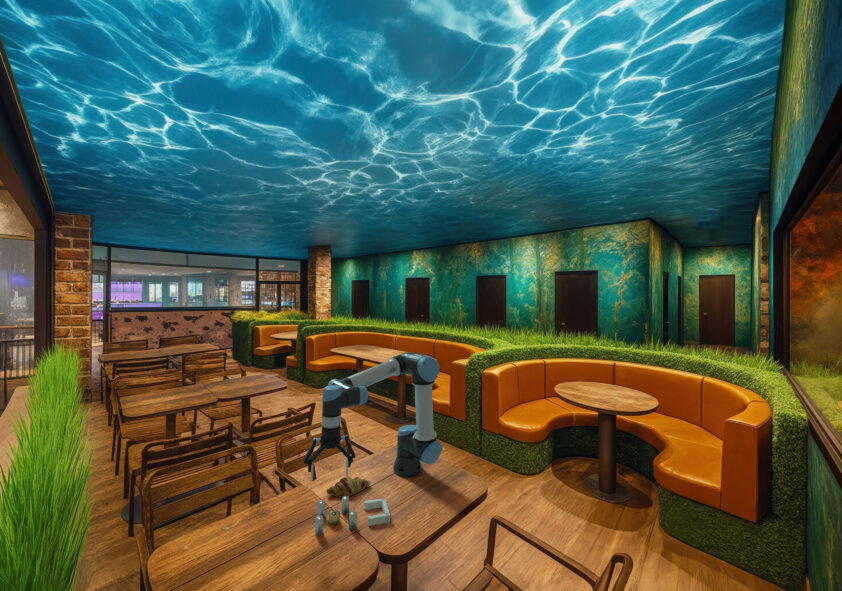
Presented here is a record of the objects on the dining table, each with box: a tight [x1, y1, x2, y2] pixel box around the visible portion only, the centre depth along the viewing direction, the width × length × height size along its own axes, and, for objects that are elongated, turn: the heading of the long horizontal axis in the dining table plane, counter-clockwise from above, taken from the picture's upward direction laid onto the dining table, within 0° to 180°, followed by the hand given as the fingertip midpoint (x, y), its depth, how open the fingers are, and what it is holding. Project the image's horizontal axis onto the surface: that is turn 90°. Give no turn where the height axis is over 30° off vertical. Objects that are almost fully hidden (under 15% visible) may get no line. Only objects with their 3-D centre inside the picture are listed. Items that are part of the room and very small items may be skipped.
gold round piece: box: [327, 509, 341, 527], centre depth 143 cm, size 5×5×4 cm
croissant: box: [326, 476, 372, 498], centre depth 164 cm, size 21×10×8 cm, turn 118°
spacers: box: [314, 495, 358, 537], centre depth 143 cm, size 14×16×6 cm
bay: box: [363, 497, 391, 527], centre depth 148 cm, size 12×9×3 cm
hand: (329, 477), depth 139 cm, fingers open, 13 cm apart
